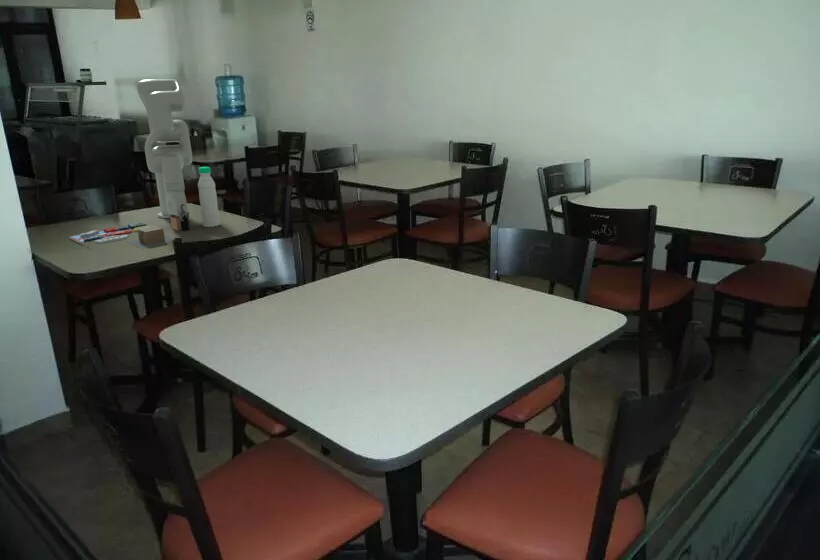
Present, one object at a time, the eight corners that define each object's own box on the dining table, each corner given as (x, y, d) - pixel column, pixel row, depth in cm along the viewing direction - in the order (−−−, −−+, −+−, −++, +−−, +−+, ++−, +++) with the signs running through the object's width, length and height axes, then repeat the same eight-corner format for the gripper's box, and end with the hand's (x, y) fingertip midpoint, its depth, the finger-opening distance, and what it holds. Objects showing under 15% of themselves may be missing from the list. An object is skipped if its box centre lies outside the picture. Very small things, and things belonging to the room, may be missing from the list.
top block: (172, 231, 257) (170, 217, 255) (183, 228, 260) (181, 214, 258) (178, 233, 254) (175, 218, 252) (189, 230, 257) (187, 216, 255)
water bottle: (217, 227, 261) (209, 168, 253) (200, 227, 261) (192, 168, 253) (222, 223, 268) (215, 165, 260) (206, 223, 268) (198, 166, 260)
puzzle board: (90, 251, 233) (89, 244, 232) (69, 240, 248) (68, 234, 247) (168, 235, 253) (167, 229, 252) (144, 226, 268) (143, 220, 267)
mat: (127, 244, 238) (126, 241, 238) (162, 237, 248) (161, 234, 247) (142, 251, 229) (142, 248, 229) (178, 243, 238) (177, 240, 238)
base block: (139, 241, 238) (137, 229, 236) (157, 237, 243) (155, 225, 241) (147, 244, 233) (145, 232, 232) (165, 241, 238) (163, 228, 236)
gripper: (156, 185, 254) (162, 226, 260) (175, 190, 243) (181, 233, 248) (173, 183, 259) (179, 223, 265) (193, 188, 248) (199, 229, 253)
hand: (180, 228), depth 257 cm, fingers open, 8 cm apart
